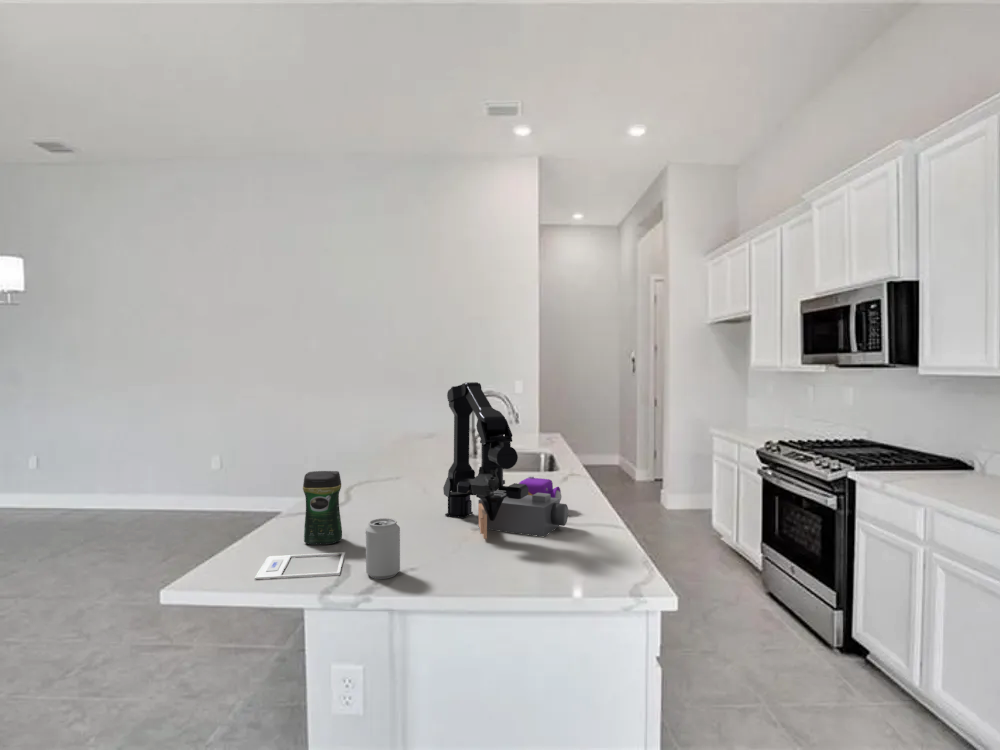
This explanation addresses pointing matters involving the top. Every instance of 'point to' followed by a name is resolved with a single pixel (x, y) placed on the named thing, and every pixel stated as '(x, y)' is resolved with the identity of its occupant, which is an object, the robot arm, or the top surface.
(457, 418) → the robot arm
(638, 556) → the top surface
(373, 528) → the can
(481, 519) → the side door
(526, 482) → the toy camera
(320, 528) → the coffee jar
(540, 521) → the block
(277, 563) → the photo frame
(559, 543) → the top surface
